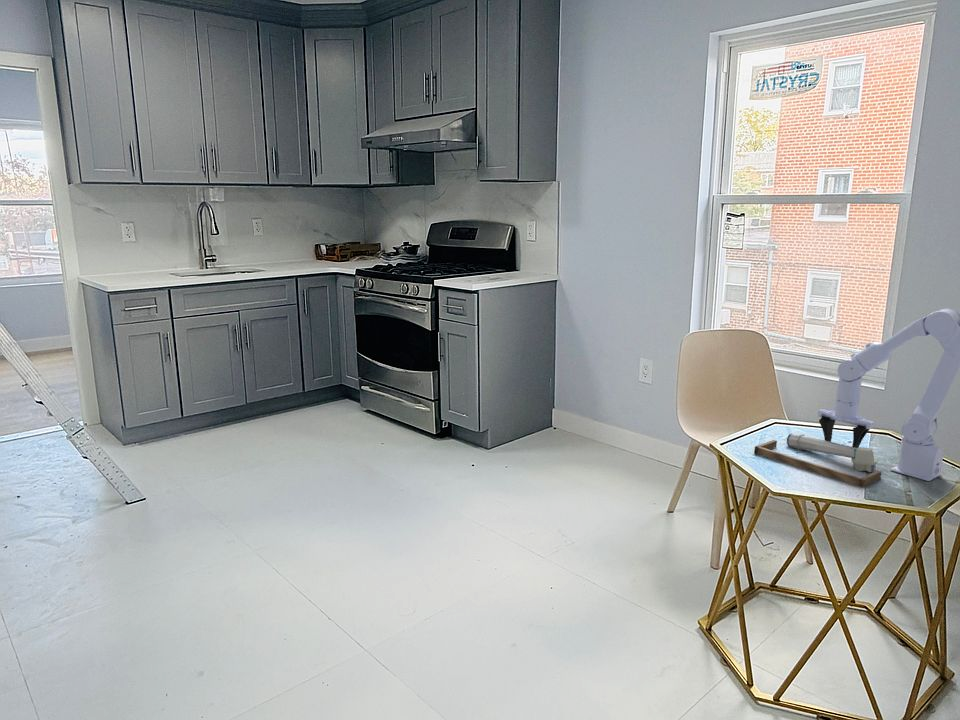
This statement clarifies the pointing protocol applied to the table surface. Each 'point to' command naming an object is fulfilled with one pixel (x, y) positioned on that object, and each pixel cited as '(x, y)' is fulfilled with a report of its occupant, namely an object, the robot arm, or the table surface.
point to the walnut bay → (815, 466)
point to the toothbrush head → (836, 451)
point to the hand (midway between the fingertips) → (841, 446)
